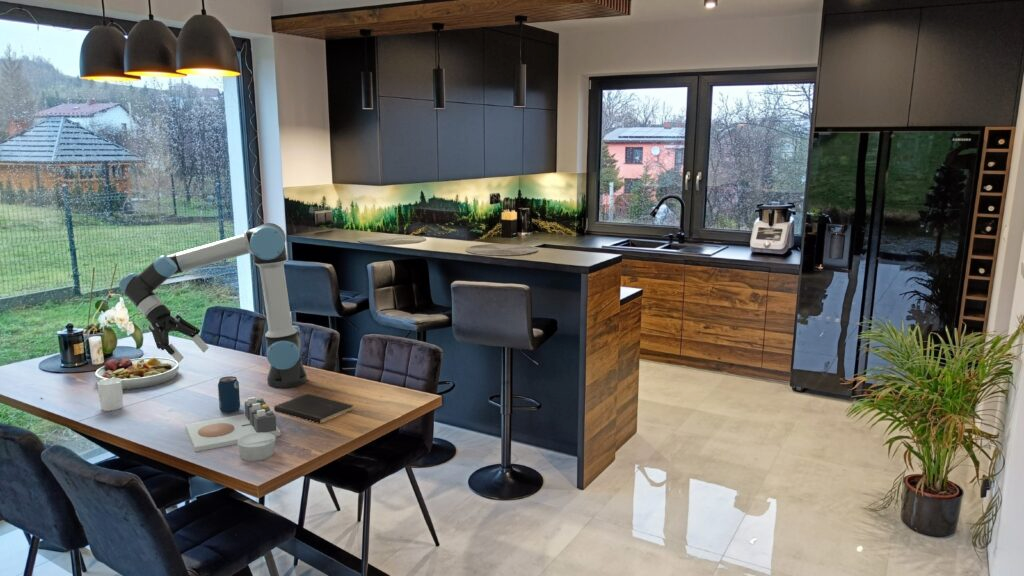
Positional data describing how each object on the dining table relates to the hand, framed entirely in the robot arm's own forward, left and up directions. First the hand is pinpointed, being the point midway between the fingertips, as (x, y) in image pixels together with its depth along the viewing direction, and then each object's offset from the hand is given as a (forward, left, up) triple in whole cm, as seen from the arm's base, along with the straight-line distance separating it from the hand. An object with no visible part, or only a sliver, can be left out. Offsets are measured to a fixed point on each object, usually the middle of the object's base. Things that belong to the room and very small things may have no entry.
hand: (193, 355), depth 257 cm
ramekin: (-9, +53, -20) cm, 57 cm away
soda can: (-9, +9, -20) cm, 24 cm away
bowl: (+16, -47, -20) cm, 54 cm away
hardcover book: (-35, +23, -21) cm, 47 cm away
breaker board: (-6, +30, -20) cm, 36 cm away
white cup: (+27, -15, -20) cm, 37 cm away
